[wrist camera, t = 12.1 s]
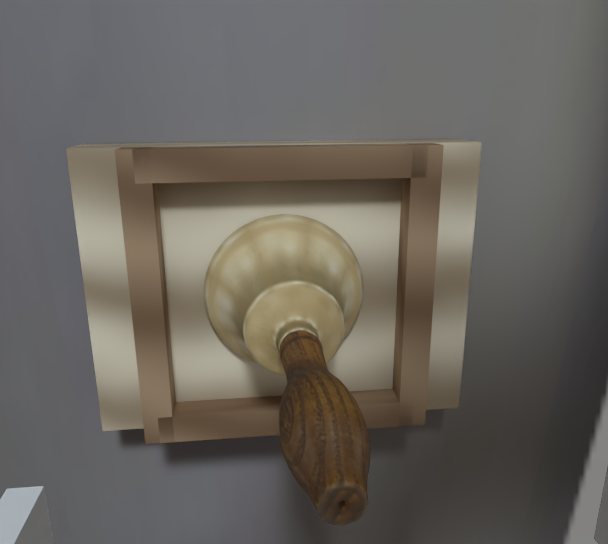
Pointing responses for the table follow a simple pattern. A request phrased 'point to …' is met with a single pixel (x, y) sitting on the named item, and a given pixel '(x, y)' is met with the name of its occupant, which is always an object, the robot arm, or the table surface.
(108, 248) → the stand
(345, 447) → the hand bell
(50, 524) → the robot arm
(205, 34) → the table surface
